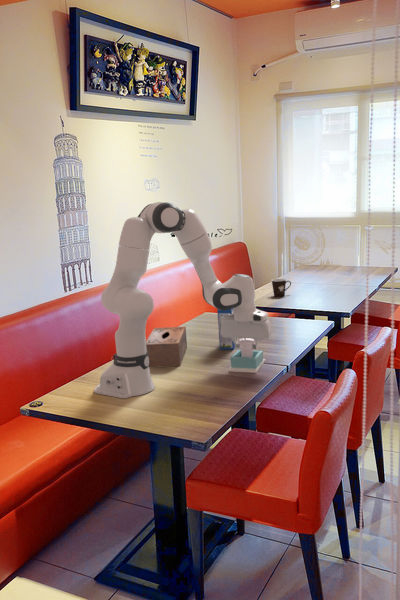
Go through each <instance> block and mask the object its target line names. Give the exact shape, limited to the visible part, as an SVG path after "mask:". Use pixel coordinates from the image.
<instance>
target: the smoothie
mask: <svg viewBox="0 0 400 600" xmlns="http://www.w3.org/2000/svg"><path fill="white" fill-rule="evenodd" d="M238 343H239V344H240V348H239V350H241V355H242V357H247V358H253V350H254V349H253V345H254V344H255V338H239V339H238Z"/></svg>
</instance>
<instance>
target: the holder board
mask: <svg viewBox="0 0 400 600" xmlns="http://www.w3.org/2000/svg"><path fill="white" fill-rule="evenodd" d="M265 362H266V358H264V350H258V349H253V358H247V357H242V355H241V350H240V349H237V350H236V352H234V353H233V354H232V356H231V357H230V367H229V368H228V372H237V373H254V374H255V373H257V372H258V371H259V370H260V369H261V367H262V366H263V365H264V364H265Z"/></svg>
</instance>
